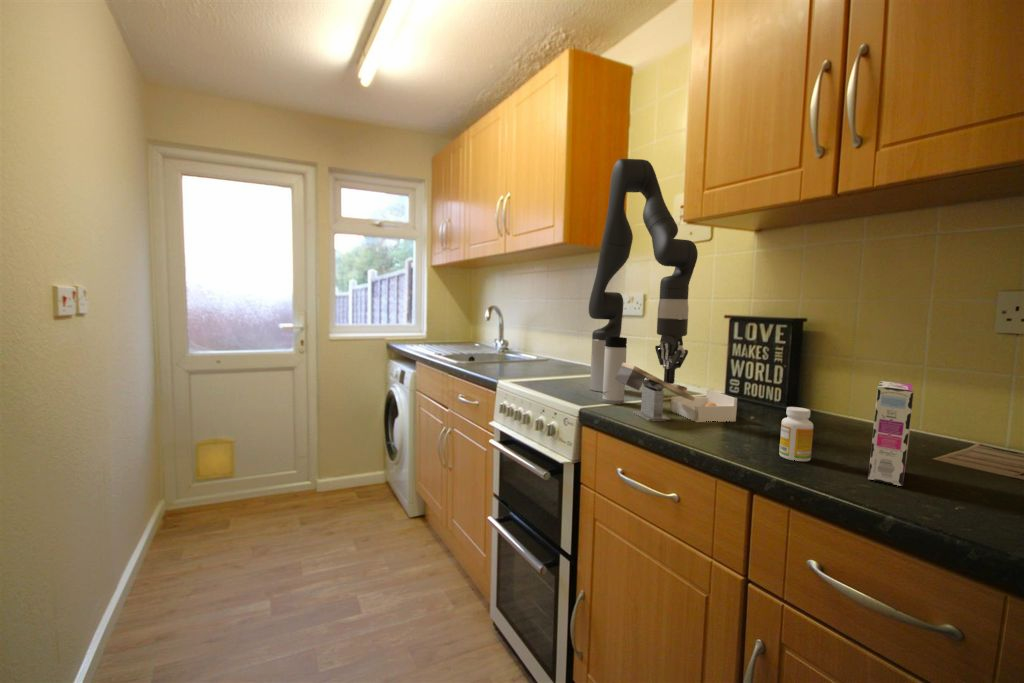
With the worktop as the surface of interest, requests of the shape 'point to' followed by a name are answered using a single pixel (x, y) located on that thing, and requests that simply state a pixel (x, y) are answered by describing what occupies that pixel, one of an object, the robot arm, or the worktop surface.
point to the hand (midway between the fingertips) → (669, 383)
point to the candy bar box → (891, 432)
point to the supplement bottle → (796, 435)
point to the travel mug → (613, 369)
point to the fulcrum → (652, 401)
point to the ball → (710, 404)
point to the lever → (636, 376)
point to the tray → (706, 407)
